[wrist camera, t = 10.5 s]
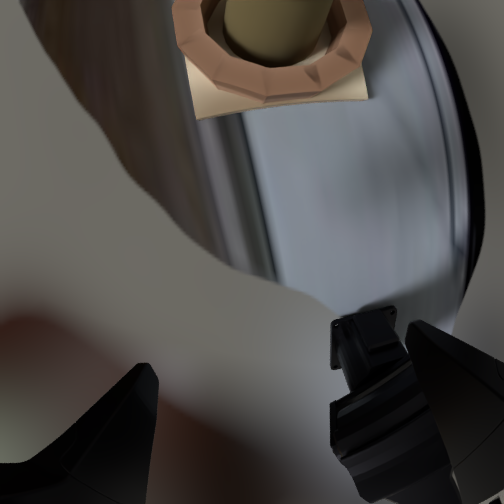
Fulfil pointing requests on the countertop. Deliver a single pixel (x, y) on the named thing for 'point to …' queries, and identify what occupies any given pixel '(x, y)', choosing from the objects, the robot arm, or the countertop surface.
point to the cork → (274, 29)
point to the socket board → (265, 78)
